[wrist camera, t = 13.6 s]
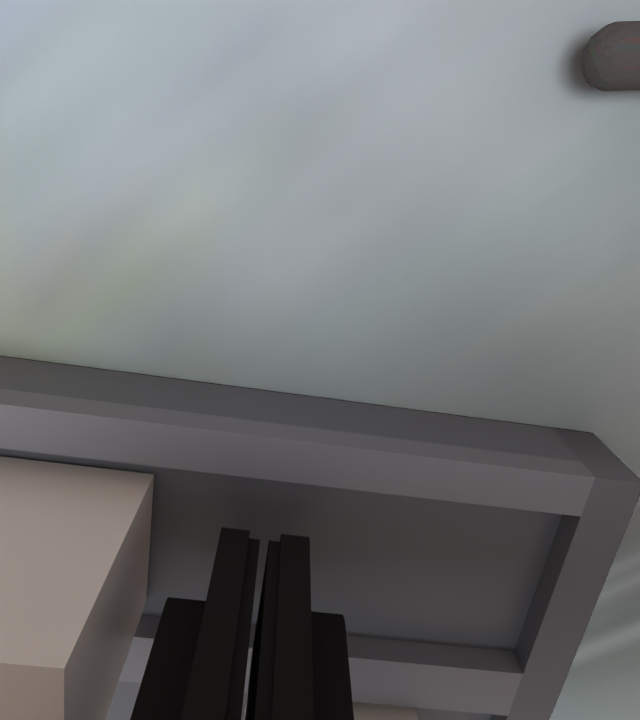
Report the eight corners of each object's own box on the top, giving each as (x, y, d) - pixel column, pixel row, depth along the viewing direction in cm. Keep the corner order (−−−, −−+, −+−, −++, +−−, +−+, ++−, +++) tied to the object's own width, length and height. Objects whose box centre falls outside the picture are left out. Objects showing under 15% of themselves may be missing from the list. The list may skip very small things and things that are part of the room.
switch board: (592, 433, 13) (650, 489, 11) (430, 889, 19) (447, 985, 17) (-570, 282, 11) (-779, 313, 9) (-354, 838, 17) (-450, 939, 15)
